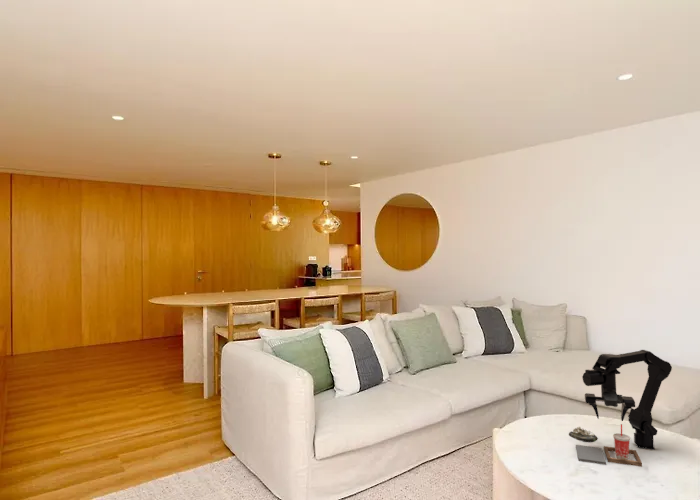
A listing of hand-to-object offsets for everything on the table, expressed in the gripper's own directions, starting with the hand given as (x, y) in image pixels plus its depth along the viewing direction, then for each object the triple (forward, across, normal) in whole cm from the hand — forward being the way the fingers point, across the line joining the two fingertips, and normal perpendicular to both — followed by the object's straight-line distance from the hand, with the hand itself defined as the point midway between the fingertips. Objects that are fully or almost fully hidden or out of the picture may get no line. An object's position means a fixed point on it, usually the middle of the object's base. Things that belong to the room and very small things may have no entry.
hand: (609, 419), depth 195 cm
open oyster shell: (+13, -10, +9) cm, 19 cm away
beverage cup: (+13, +3, -8) cm, 16 cm away
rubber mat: (+12, -9, -10) cm, 19 cm away
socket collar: (+13, +3, -8) cm, 15 cm away
